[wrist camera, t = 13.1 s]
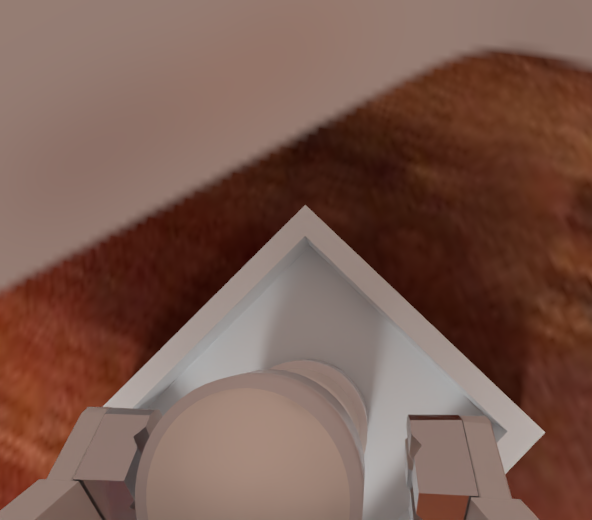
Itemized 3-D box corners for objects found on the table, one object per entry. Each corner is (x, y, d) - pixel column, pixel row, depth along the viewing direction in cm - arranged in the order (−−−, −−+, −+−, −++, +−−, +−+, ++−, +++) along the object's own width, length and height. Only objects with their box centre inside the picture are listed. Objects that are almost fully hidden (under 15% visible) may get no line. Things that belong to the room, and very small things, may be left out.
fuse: (227, 416, 16) (91, 487, 8) (308, 334, 16) (248, 328, 8) (308, 508, 15) (241, 681, 8) (393, 421, 15) (414, 505, 8)
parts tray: (122, 410, 17) (89, 420, 15) (311, 221, 17) (305, 204, 15) (310, 635, 15) (303, 683, 13) (519, 420, 16) (545, 432, 13)
